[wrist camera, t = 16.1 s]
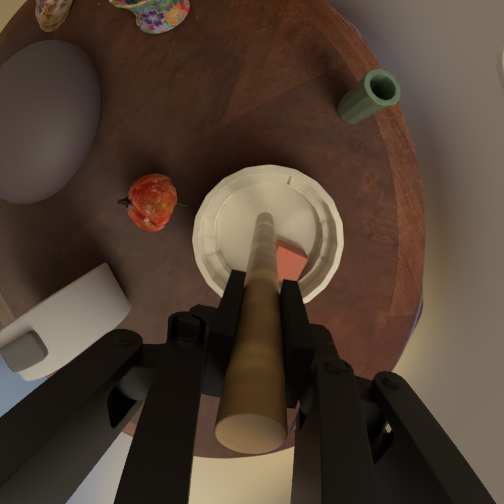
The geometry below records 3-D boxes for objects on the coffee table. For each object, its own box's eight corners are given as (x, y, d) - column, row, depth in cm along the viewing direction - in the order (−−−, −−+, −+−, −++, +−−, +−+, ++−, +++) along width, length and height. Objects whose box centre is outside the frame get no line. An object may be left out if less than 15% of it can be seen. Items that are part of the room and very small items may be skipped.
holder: (366, 101, 35) (402, 76, 24) (362, 127, 36) (398, 110, 24) (339, 93, 35) (366, 64, 23) (335, 119, 36) (362, 98, 24)
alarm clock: (64, 334, 46) (1, 392, 27) (44, 300, 45) (-27, 349, 26) (146, 295, 43) (80, 368, 24) (122, 252, 42) (39, 304, 23)
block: (304, 251, 40) (308, 259, 36) (291, 276, 41) (293, 287, 37) (277, 238, 40) (279, 245, 36) (264, 264, 41) (264, 274, 37)
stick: (273, 211, 35) (289, 412, 7) (273, 228, 36) (285, 454, 7) (256, 212, 35) (210, 410, 7) (256, 228, 36) (217, 452, 7)
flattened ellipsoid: (61, 230, 41) (-1, 252, 27) (-3, 143, 38) (-59, 143, 23) (154, 105, 36) (102, 76, 22) (69, 33, 33) (19, 4, 18)
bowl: (344, 182, 38) (357, 183, 32) (315, 303, 42) (322, 322, 37) (214, 156, 38) (205, 153, 32) (195, 281, 42) (184, 297, 37)
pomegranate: (188, 174, 41) (122, 160, 35) (208, 191, 36) (129, 175, 30) (173, 221, 43) (109, 212, 37) (190, 244, 38) (115, 236, 32)
